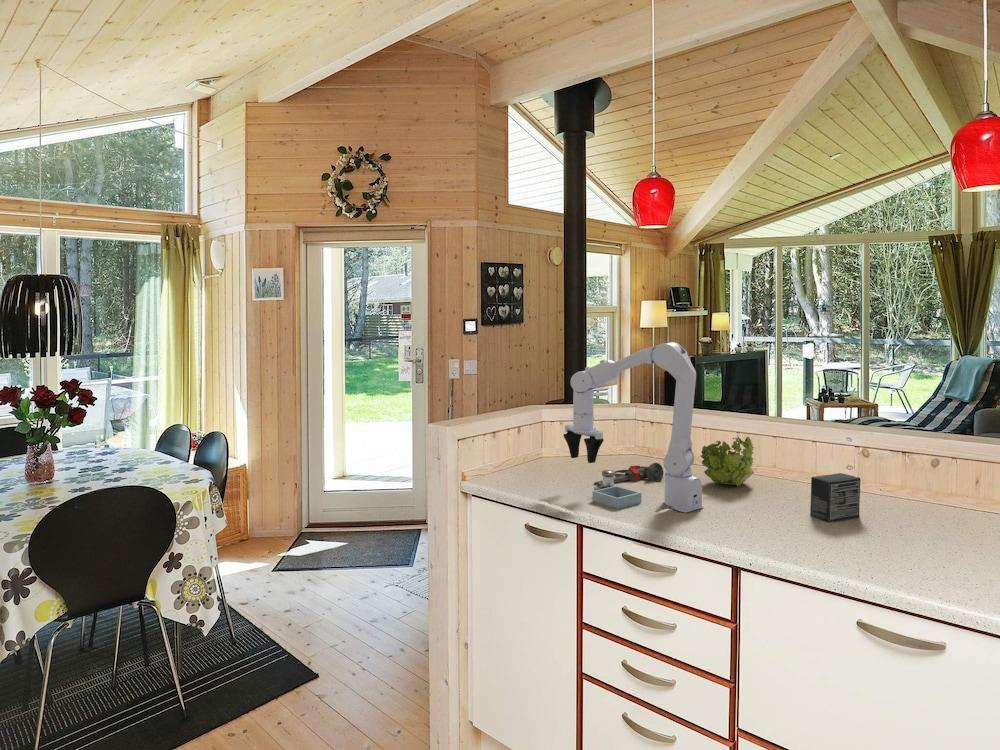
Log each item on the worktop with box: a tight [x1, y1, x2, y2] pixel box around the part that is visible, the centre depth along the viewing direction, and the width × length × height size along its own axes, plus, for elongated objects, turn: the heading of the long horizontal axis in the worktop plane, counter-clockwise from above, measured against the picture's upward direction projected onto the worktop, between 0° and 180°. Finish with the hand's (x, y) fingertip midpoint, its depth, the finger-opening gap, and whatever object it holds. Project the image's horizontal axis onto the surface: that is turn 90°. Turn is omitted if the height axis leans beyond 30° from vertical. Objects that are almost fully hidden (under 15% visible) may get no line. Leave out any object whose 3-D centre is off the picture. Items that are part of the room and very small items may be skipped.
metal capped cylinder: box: [601, 469, 616, 489], centre depth 193 cm, size 4×4×6 cm
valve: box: [593, 462, 665, 487], centre depth 210 cm, size 6×26×15 cm
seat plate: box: [593, 486, 603, 491], centre depth 194 cm, size 6×6×2 cm
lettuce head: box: [700, 435, 755, 488], centre depth 205 cm, size 18×16×16 cm
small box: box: [809, 472, 861, 523], centre depth 173 cm, size 11×6×10 cm, turn 111°
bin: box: [592, 485, 642, 510], centre depth 184 cm, size 9×9×4 cm
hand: (582, 460), depth 194 cm, fingers open, 7 cm apart
